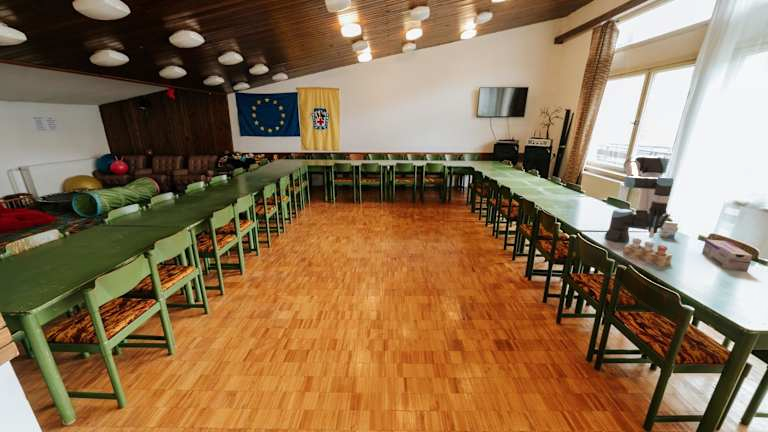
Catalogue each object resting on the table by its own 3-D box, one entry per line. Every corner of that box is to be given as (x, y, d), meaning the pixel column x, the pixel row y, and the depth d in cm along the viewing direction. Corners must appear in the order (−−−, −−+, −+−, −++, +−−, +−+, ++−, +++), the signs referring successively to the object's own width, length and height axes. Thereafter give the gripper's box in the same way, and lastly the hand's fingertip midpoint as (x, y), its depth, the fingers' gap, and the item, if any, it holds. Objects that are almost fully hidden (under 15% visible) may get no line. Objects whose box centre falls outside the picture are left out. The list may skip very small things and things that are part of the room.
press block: (622, 254, 213) (624, 246, 211) (630, 251, 217) (632, 243, 216) (662, 266, 194) (664, 257, 193) (670, 263, 199) (672, 254, 197)
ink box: (672, 236, 244) (676, 221, 241) (674, 238, 240) (678, 223, 237) (658, 234, 249) (662, 220, 246) (659, 236, 245) (663, 221, 242)
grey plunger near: (629, 249, 212) (631, 239, 210) (632, 248, 214) (635, 238, 212) (636, 251, 208) (639, 241, 206) (640, 250, 210) (643, 240, 208)
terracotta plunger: (653, 257, 200) (656, 246, 198) (657, 255, 202) (660, 244, 200) (662, 259, 196) (665, 248, 194) (666, 258, 198) (669, 247, 196)
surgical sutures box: (701, 253, 212) (706, 239, 209) (722, 256, 209) (727, 241, 205) (723, 269, 190) (728, 253, 187) (746, 272, 186) (752, 255, 183)
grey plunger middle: (641, 253, 206) (643, 242, 204) (644, 251, 208) (647, 241, 206) (649, 255, 202) (651, 244, 200) (652, 254, 204) (655, 243, 202)
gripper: (644, 200, 199) (636, 235, 205) (669, 204, 187) (660, 241, 194) (650, 199, 202) (642, 233, 208) (675, 203, 191) (666, 239, 197)
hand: (651, 237), depth 201 cm, fingers closed
